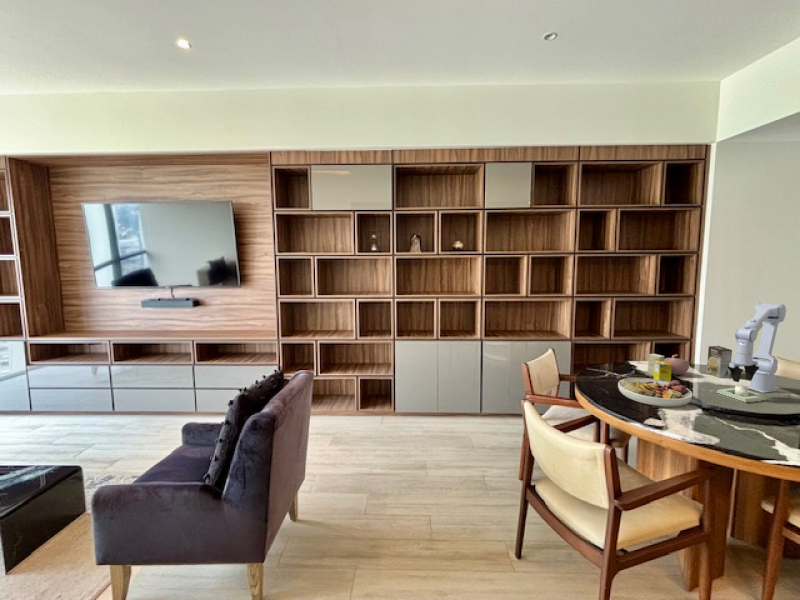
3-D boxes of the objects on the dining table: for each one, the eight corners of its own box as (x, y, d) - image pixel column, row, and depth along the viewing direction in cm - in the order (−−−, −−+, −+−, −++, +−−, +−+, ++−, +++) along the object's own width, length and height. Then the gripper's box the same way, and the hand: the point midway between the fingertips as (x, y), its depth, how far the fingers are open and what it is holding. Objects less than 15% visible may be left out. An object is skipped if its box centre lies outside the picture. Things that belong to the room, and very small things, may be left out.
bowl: (651, 412, 164) (652, 395, 164) (604, 389, 194) (604, 374, 193) (708, 406, 169) (710, 390, 168) (654, 384, 198) (655, 370, 198)
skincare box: (647, 374, 214) (648, 354, 213) (652, 373, 216) (653, 353, 214) (658, 377, 208) (659, 356, 207) (663, 376, 210) (664, 355, 209)
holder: (737, 391, 185) (737, 387, 185) (766, 400, 173) (766, 396, 173) (716, 393, 183) (717, 389, 183) (744, 403, 171) (745, 399, 171)
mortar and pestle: (688, 373, 215) (690, 354, 213) (688, 378, 205) (690, 358, 204) (663, 369, 222) (664, 351, 221) (662, 375, 213) (663, 355, 211)
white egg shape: (739, 394, 181) (740, 385, 180) (749, 398, 176) (750, 388, 176) (731, 395, 180) (732, 385, 179) (742, 399, 176) (742, 389, 175)
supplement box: (670, 384, 198) (671, 364, 196) (658, 383, 199) (659, 364, 198) (665, 380, 204) (666, 361, 202) (653, 380, 205) (654, 361, 203)
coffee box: (705, 372, 214) (707, 346, 212) (716, 372, 214) (718, 345, 212) (719, 378, 205) (721, 350, 203) (730, 377, 205) (732, 349, 203)
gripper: (747, 350, 181) (745, 376, 182) (723, 352, 178) (721, 379, 180) (763, 353, 174) (761, 381, 176) (739, 356, 171) (737, 384, 173)
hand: (742, 380), depth 177 cm, fingers open, 7 cm apart
